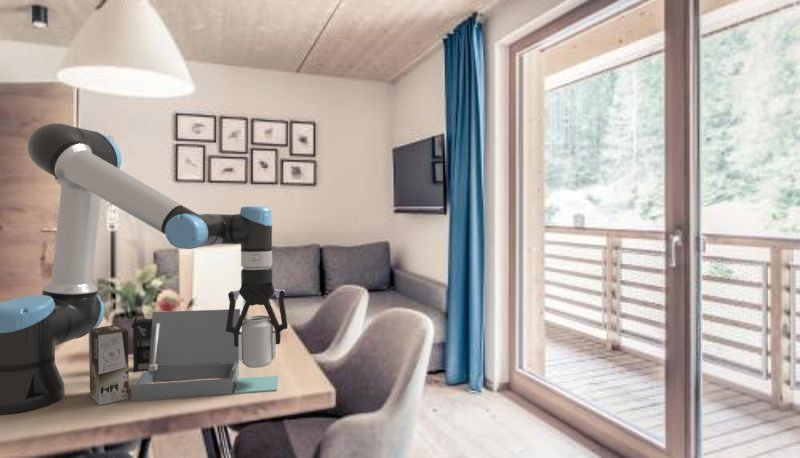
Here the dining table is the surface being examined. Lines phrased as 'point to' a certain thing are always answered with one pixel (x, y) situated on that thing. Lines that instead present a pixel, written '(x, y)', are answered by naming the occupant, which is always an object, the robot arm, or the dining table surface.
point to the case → (189, 356)
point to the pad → (256, 384)
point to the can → (257, 341)
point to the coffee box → (108, 364)
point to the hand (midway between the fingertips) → (257, 357)
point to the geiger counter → (141, 343)
